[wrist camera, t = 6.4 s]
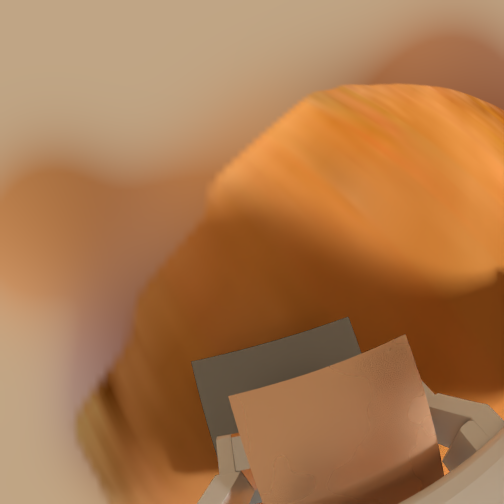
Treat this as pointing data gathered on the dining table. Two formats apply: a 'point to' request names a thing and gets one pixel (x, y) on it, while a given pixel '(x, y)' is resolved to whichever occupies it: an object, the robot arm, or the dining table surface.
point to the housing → (342, 432)
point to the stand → (267, 370)
